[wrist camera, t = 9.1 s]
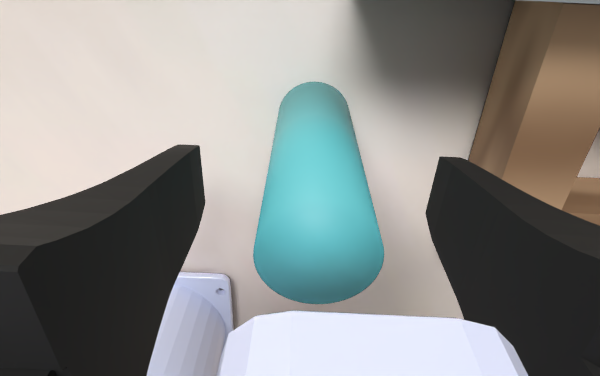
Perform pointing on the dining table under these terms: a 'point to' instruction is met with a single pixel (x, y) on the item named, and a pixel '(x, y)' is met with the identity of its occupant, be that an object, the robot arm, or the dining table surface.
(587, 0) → the backstop wall
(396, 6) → the dining table surface
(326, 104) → the dowel
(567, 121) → the wooden square frame
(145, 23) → the dining table surface
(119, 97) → the dining table surface
